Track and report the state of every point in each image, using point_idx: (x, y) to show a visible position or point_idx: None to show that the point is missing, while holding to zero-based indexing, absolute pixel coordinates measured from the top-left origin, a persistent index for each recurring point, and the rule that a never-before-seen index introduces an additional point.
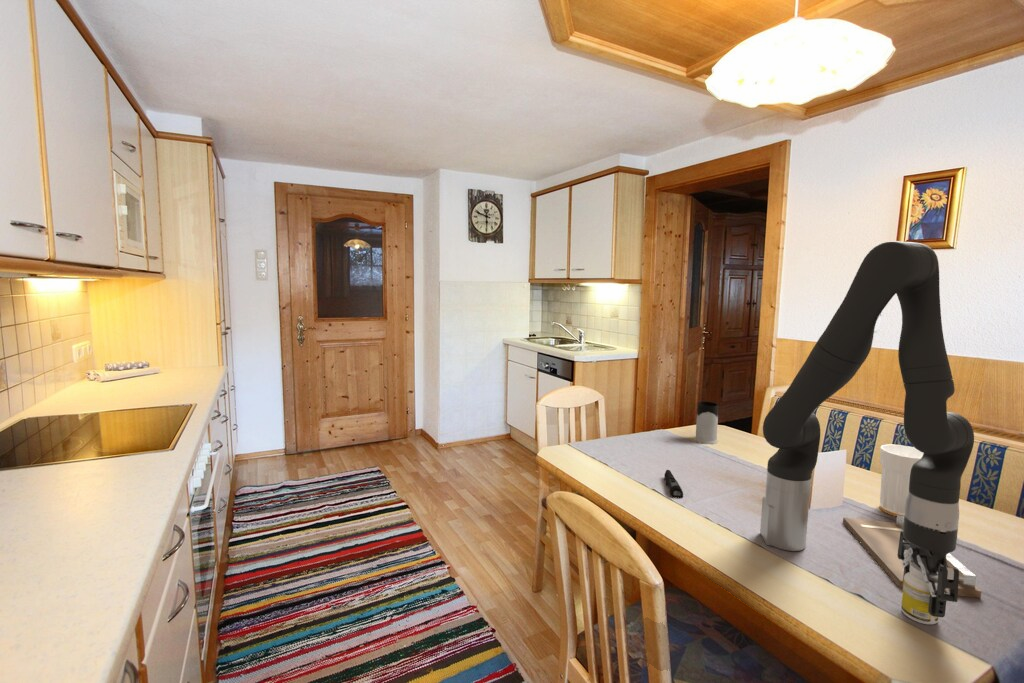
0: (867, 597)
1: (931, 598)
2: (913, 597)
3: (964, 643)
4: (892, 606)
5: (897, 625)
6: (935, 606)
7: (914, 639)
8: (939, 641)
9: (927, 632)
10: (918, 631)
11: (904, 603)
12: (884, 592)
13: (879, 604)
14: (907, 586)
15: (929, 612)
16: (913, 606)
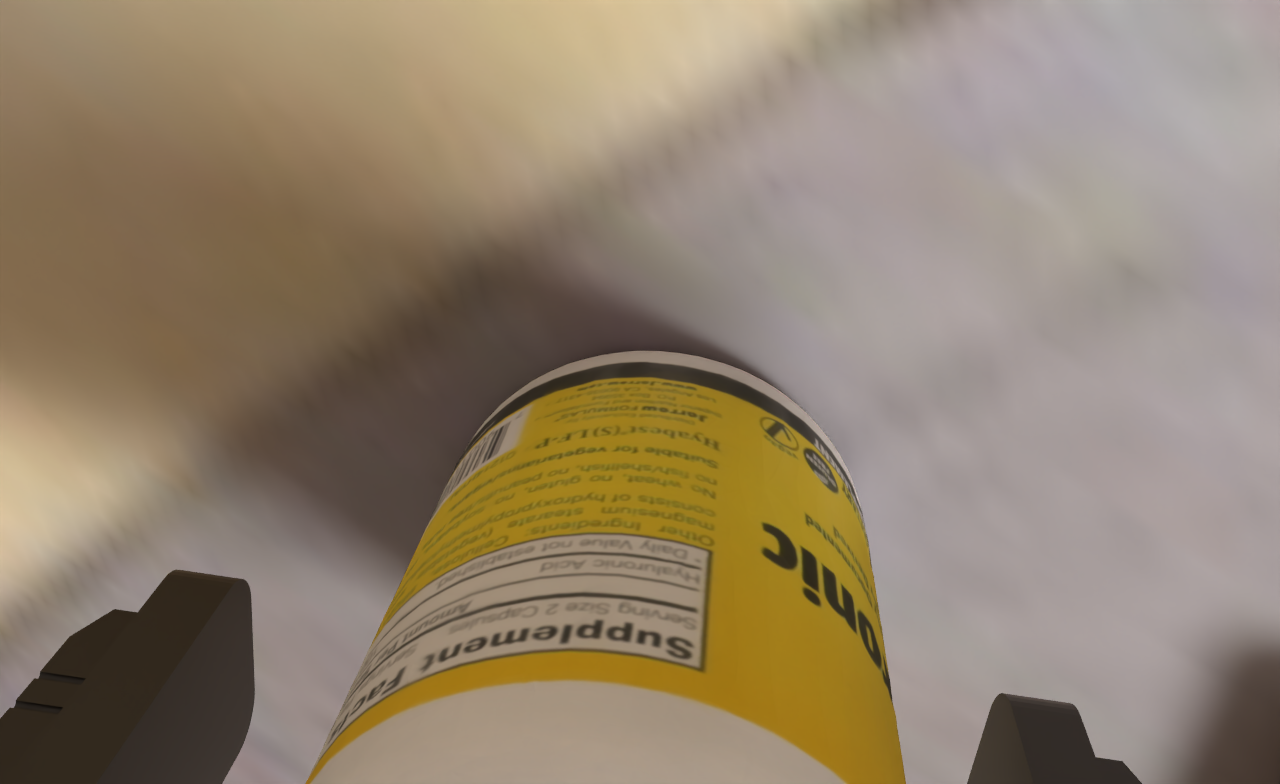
0: (1096, 13)
1: (26, 779)
2: (459, 571)
3: None
4: (849, 297)
5: (359, 71)
6: (40, 716)
7: (78, 125)
8: (146, 431)
9: (299, 403)
10: (289, 298)
11: (648, 421)
12: (1223, 402)
13: (892, 113)
14: (557, 635)
15: (200, 581)
16: (478, 480)
